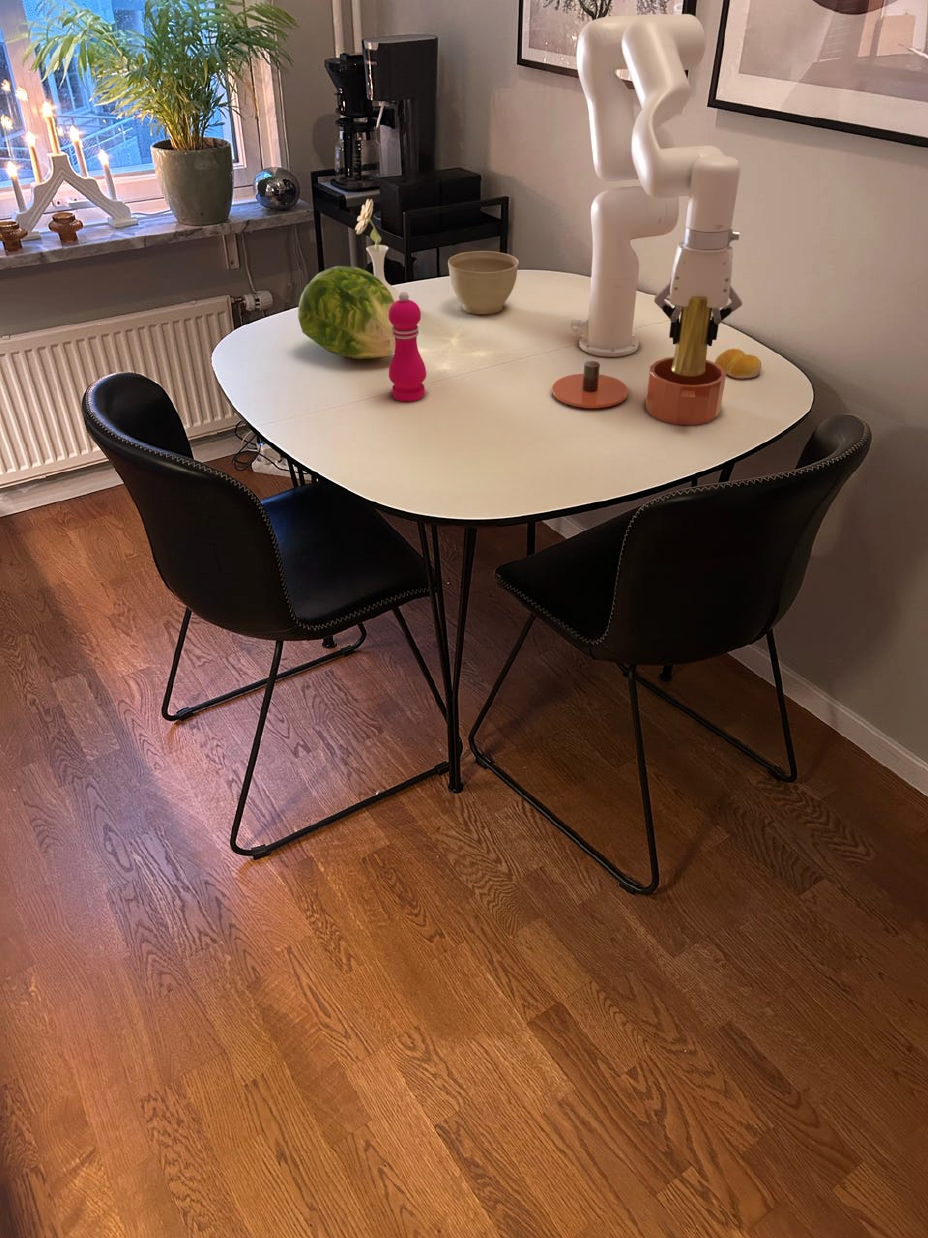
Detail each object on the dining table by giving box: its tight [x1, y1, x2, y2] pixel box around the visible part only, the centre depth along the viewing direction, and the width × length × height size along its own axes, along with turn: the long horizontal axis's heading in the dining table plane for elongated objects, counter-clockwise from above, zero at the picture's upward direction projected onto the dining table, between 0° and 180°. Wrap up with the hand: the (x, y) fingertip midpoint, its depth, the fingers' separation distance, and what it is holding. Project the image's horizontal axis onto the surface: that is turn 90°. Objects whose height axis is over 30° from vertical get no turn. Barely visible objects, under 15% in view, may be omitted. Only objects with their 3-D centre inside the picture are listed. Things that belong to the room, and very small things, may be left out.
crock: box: [645, 356, 727, 426], centre depth 173 cm, size 14×19×8 cm
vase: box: [671, 297, 713, 377], centre depth 166 cm, size 6×6×14 cm
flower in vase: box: [354, 198, 401, 302], centre depth 211 cm, size 13×11×25 cm
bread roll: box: [714, 348, 762, 380], centre depth 187 cm, size 8×9×4 cm
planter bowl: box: [447, 250, 520, 315], centre depth 216 cm, size 16×16×11 cm
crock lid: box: [551, 360, 629, 409], centre depth 179 cm, size 15×15×6 cm
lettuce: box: [297, 265, 395, 360], centre depth 194 cm, size 18×23×19 cm
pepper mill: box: [388, 291, 427, 402], centre depth 175 cm, size 7×7×20 cm
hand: (692, 341), depth 167 cm, fingers closed on vase, 5 cm apart
